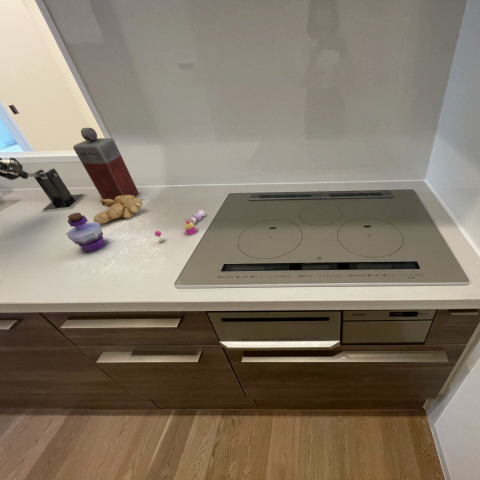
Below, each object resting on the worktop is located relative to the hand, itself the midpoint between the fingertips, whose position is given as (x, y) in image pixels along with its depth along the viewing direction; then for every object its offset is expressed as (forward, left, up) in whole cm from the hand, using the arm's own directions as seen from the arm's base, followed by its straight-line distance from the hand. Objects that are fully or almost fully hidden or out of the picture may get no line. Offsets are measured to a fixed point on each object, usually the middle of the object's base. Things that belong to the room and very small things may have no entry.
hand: (19, 176), depth 88 cm
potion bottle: (+33, -10, -16) cm, 38 cm away
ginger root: (+25, +9, -16) cm, 31 cm away
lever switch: (-5, +10, -16) cm, 19 cm away
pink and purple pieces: (+55, +5, -16) cm, 58 cm away
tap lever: (-2, +3, -3) cm, 5 cm away
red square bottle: (+14, +18, -16) cm, 28 cm away
